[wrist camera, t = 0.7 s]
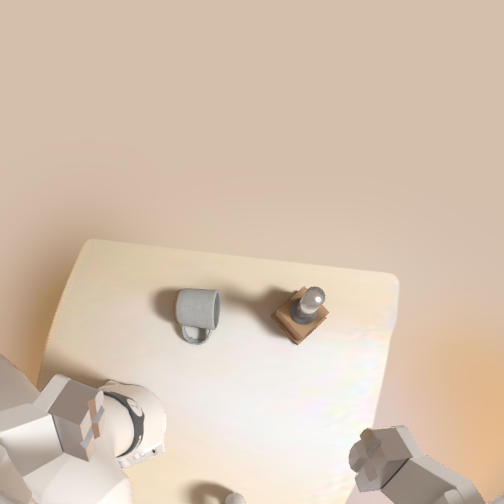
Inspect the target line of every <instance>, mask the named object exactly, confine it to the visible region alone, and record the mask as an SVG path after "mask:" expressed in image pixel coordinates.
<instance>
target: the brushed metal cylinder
mask: <svg viewBox="0 0 504 504" xmlns="http://www.w3.org/2000/svg"><path fill="white" fill-rule="evenodd" d="M324 300H325V294H324V292H323V290H322V289H320V288H319V287H310V288H309V289H308V290H307V291H306V292H305V294H304V296H303V297H302V299H301V300H300V302H299V304H298V305H297V307H296V310H295V312H296V315H297V316H298V317H299V318H300V319H308V318H309V317H311V315H312V314H313V313H314V312H315V311H316V310H317V309H318V308H319V307H320V306H321V305H322V304H323V302H324Z"/></svg>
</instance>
